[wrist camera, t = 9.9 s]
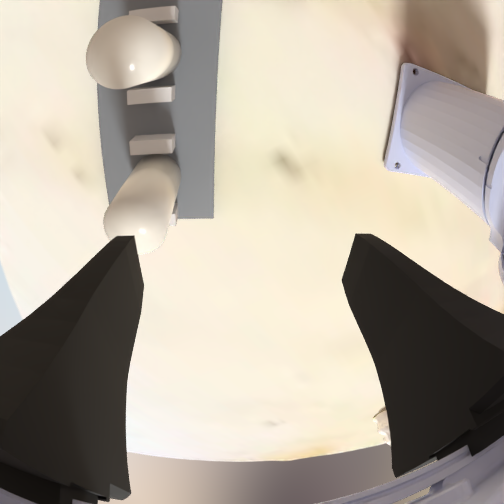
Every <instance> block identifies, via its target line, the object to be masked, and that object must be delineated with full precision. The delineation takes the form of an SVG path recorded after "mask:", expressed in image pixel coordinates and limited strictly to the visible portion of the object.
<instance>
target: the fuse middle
mask: <svg viewBox="0 0 504 504" xmlns="http://www.w3.org/2000/svg"><path fill="white" fill-rule="evenodd" d="M181 55H182V49H181V45H180V43H179V41H178V40H177V38H176V37H175V36H173V35H172V34H170V33H169V32H167V31H166V30H164V29H162V28H161V27H159V26H157V25H156V24H154V23H152V22H150V21H149V20H147V19H145V18H143V17H140V16H135V15H126V16H120V17H117V18H114V19H112V20H110V21H108V22H107V23H105V24H104V25H103V26H101V27H100V28H99V29H98V30H97V31H96V33H95V34H94V35H93V37H92V38H91V40H90V42H89V45H88V48H87V52H86V65H87V69H88V71H89V73H90V75H91V77H92V78H93V79H94V80H95V81H96V82H97V83H98V84H100V85H102V86H104V87H106V88H110V89H125V88H129V87H133V86H136V85H139V84H143V83H146V82H150V81H154V80H158V79H161V78H164V77H166V76H168V75H169V74H171V73H172V72H173V71H174V70H175V69H176V67H177V66H178V64H179V62H180V60H181Z"/></svg>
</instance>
